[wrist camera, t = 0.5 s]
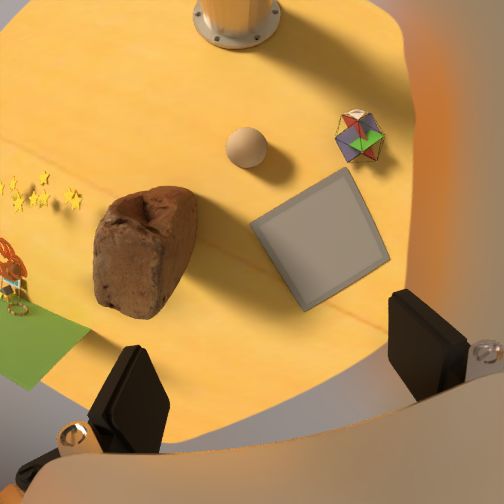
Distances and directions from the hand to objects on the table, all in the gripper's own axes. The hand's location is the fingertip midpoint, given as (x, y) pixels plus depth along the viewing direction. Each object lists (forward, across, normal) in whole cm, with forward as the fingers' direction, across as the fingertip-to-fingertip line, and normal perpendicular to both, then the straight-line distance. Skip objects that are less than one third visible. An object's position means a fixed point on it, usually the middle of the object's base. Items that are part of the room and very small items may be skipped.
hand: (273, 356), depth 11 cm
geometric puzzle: (+33, -17, -8) cm, 38 cm away
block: (+33, +11, -2) cm, 35 cm away
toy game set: (+34, +34, -3) cm, 48 cm away
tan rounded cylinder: (+33, -2, -9) cm, 34 cm away
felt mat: (+33, -10, +6) cm, 35 cm away
